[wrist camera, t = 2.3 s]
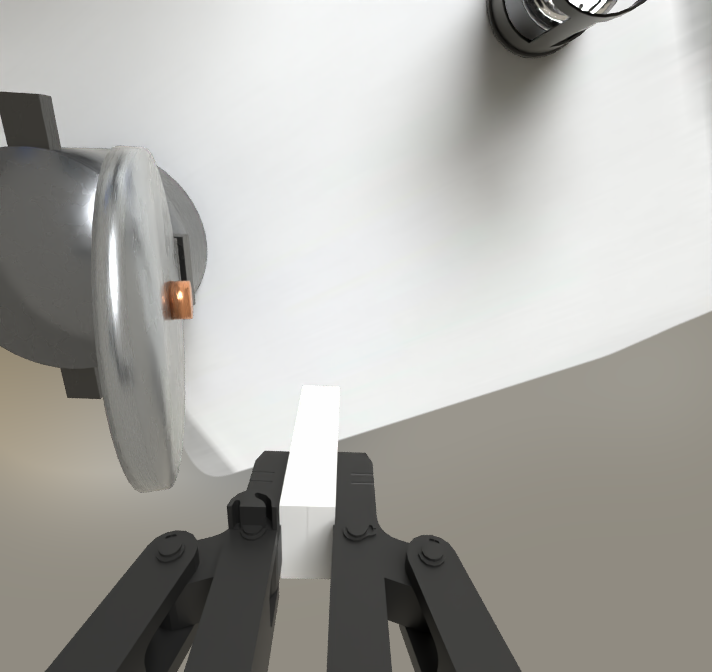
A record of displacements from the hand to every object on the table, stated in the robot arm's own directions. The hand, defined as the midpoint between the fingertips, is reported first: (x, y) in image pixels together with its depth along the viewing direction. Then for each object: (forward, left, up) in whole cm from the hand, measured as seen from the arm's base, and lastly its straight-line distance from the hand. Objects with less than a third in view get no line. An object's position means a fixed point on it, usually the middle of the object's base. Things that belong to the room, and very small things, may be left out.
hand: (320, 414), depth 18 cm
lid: (0, -11, -9) cm, 14 cm away
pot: (0, -23, -31) cm, 39 cm away
